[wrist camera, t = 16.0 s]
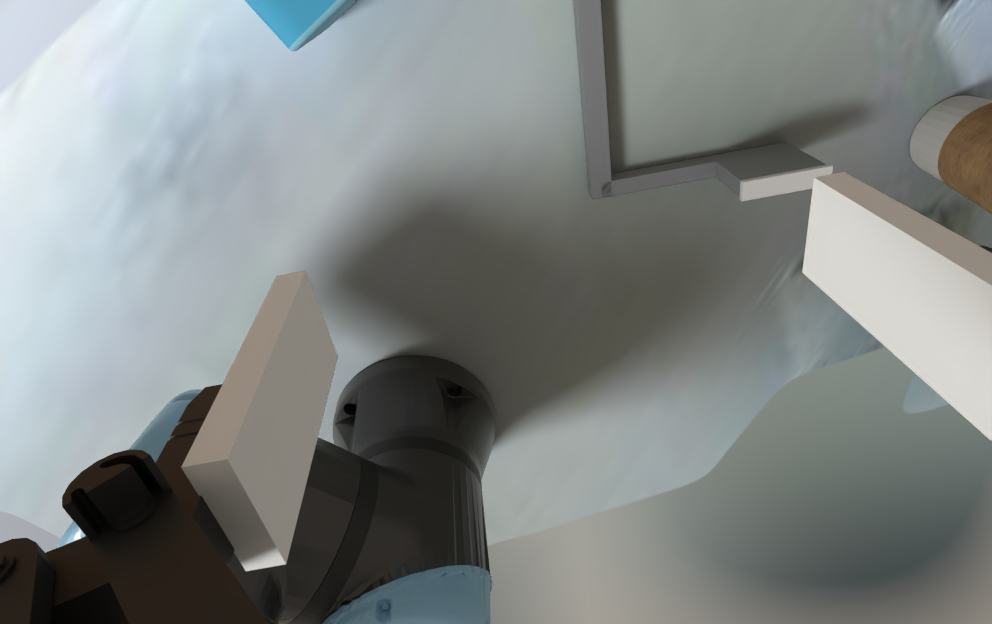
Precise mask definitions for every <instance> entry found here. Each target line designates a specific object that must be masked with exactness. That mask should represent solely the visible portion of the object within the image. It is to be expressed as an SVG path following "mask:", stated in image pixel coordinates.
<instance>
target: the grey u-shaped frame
mask: <svg viewBox="0 0 992 624" xmlns="http://www.w3.org/2000/svg"><path fill="white" fill-rule="evenodd" d="M573 5H574V17H575V29H576V41H577V53H578V65H579V77H580V89H581V101H582V113H583V125H584V137H585V149H586V161H587V173H588V185H589V193H590V195H591V197H592V198H593V199H599V198H604V197H609V196H615V195H620V194H626V193H631V192H637V191H642V190H648V189H653V188H658V187H664V186H669V185H675V184H680V183H686V182H691V181H696V180H702V179H707V178H713V177H716V178H718V179H719V180H720V181H721V182H722V183H724V184H725V185H726V186H727V187H729V188H730V189H731V190H732V191H733V192H735V193H736V194H737V195H738V196H739V197H740V200H741V201H747V200H753V199H758V198H764V197H769V196H774V195H780V194H785V193H791V192H796V191H802V190H807V189H813V182H814V177H819V176H825V175H830V174H832V170H833V165H831V164H827V165H826V164H824V163H822V162H821V161H819V160H817V159H815V158H813V157H812V156H810V155H808V154H806V153H805V152H803V151H801V150H799V149H797V148H796V147H794V146H792V145H790V144H788V143H787V142H781V143H776V144H770V145H765V146H760V147H754V148H749V149H743V150H738V151H733V152H727V153H722V154H716V155H711V156H705V157H700V158H695V159H689V160H684V161H678V162H673V163H667V164H662V165H657V166H651V167H646V168H640V169H635V170H630V171H624V172H619V173H613V174H611V163H610V146H609V130H608V114H607V98H606V81H605V65H604V49H603V33H602V17H601V0H573Z"/></svg>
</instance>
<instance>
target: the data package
mask: <svg viewBox="0 0 992 624" xmlns="http://www.w3.org/2000/svg"><path fill="white" fill-rule="evenodd" d="M245 1H246V2H247V3H248V4H249V5H250V7H251V8H252V9H253V10H254V11H255V12H256V13H257V14H258V15H259V17H260V18H261V19H262V20H263V21H264V22H265V23H266V24H267V25H268V26H269V28H270V29H271V30H272V31H273V32H274V33H275V34H276V35H277V36H278V37H279V39H280V40H281V41H282V42H283V43H284V44H285V45H286V46H287V47H288V48H289V49H290V50H291V51H297V50H298V49H300V48H301V47H302V46H304V45H305V44H307V43H308V42H309V41H311V40H312V39H314V38H315V37H317V36H318V35H319V34H321V33H322V32H324V31H325V30H326V29H327V28H329V27H330V26H331V25H332V24H333V23H334V22H335V21H336V20H337V19H338V18H339V17H340V16H342V15H343V14H344V13H345V12H346V11H347V10H348V9H349V8H350V7H351V6H352V5H353V4H354V3H355V2H356V1H357V0H245Z"/></svg>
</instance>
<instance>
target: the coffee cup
mask: <svg viewBox="0 0 992 624" xmlns="http://www.w3.org/2000/svg"><path fill="white" fill-rule="evenodd" d="M910 155H911V158H912V160H913V162H914V163H915V164H916V165H917V166H918V167H919V168H921V169H922V170H924V171H926V172H927V173H929V174H931V175H932V176H934V177H936V178H937V179H939V180H941V181H943V182H944V183H946V185H948V186H949V187H951V188H953V189H954V190H956V191H957V192H959V193H960V194H962V195H963V196H965V197H967V198H968V199H970V200H971V201H973V202H974V203H976V204H977V205H979V206H981V207H982V208H984V209H985V210H987V211H988V212H990V213H991V214H992V100H991V99H986V98H980V97H974V96H962V95H960V96H955V97H951V98H948V99H946V100H943V101H942V102H940V103H938V104H936V105H935V106H934V107H932V108H931V109H930V110H929V111H928V112H927V113H926V114H925V115H924V116H923V117H922V118H921V120H920V121H919V122H918V124H917V126H916V127H915V129H914V131H913V134H912V136H911V140H910Z"/></svg>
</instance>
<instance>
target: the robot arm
mask: <svg viewBox="0 0 992 624" xmlns="http://www.w3.org/2000/svg"><path fill="white" fill-rule="evenodd" d="M802 273H803V274H804V275H806V276H807V277H808V278H809V279H810V280H811V281H812V282H813V283H815V284H816V285H817V286H818V287H819V288H820V289H821V290H822V291H824V292H825V293H826V294H827V295H828V296H829V297H830V298H831V299H833V300H834V301H835V302H836V303H837V304H838V305H839V306H840V307H842V308H843V309H844V310H845V311H846V312H847V313H848V314H849V315H851V316H852V317H853V318H854V319H855V320H856V321H857V322H858V323H860V324H861V325H862V326H863V327H864V328H865V329H866V330H867V331H868V332H870V333H871V334H872V335H873V336H874V337H875V338H876V339H877V340H879V341H880V342H881V343H882V344H883V345H884V346H885V347H886V348H888V349H889V350H890V351H891V352H892V353H893V354H894V355H895V356H897V357H898V358H899V359H900V360H901V361H903V363H905V364H906V365H907V366H908V367H909V368H910V369H911V370H912V371H913V372H915V373H916V374H917V375H918V376H919V377H920V378H921V379H922V380H924V381H925V382H926V383H927V384H928V385H929V386H930V387H931V388H932V389H934V390H935V391H936V392H937V393H938V394H939V395H940V396H941V397H943V398H944V399H945V400H946V401H947V402H948V403H949V404H950V405H952V406H953V407H954V408H955V409H956V410H957V411H958V412H960V413H961V414H962V415H963V416H964V417H965V418H966V419H967V420H968V421H970V422H971V423H972V424H973V425H974V426H975V427H976V428H977V429H979V430H980V431H981V432H982V433H983V434H984V435H985V436H986V437H988V438H989V439H990V440H992V248H988V247H985V246H982V245H981V246H978V245H976V244H974V243H972V242H971V241H969V240H967V239H965V238H963V237H962V236H960V235H958V234H956V233H954V232H952V231H951V230H949V229H947V228H945V227H943V226H942V225H940V224H938V223H936V222H934V221H932V220H931V219H929V218H927V217H925V216H923V215H922V214H920V213H918V212H916V211H914V210H912V209H911V208H909V207H907V206H905V205H903V204H902V203H900V202H898V201H896V200H894V199H892V198H891V197H889V196H887V195H885V194H883V193H882V192H880V191H878V190H876V189H874V188H872V187H871V186H869V185H867V184H865V183H863V182H862V181H860V180H858V179H856V178H854V177H852V176H851V175H849V174H847V173H845V172H841V173H836V174H830V175H825V176H819V177H814V182H813V190H812V198H811V207H810V215H809V223H808V231H807V239H806V247H805V255H804V263H803V271H802ZM337 358H338V355H337V353H336V350H335V347H334V345H333V342H332V339H331V337H330V334H329V331H328V329H327V326H326V323H325V321H324V318H323V315H322V313H321V310H320V307H319V305H318V302H317V299H316V297H315V294H314V291H313V289H312V286H311V283H310V281H309V278H308V275H307V273H306V271H302V272H296V273H291V274H285V275H280V276H276V278H275V280H274V282H273V284H272V286H271V288H270V290H269V292H268V294H267V296H266V298H265V300H264V302H263V304H262V306H261V308H260V310H259V312H258V314H257V316H256V318H255V320H254V322H253V324H252V326H251V328H250V330H249V332H248V334H247V336H246V338H245V340H244V342H243V344H242V346H241V348H240V350H239V352H238V354H237V356H236V358H235V360H234V362H233V364H232V366H231V368H230V370H229V372H228V374H227V376H226V378H225V380H224V382H223V384H221V385H216V386H210V387H205V388H204V389H203V390H190V391H187V392H184V393H182V394H180V395H178V396H176V397H175V398H173V399H172V400H171V401H170V402H169V403H168V404H167V405H166V406H165V407H164V408H163V410H162V411H161V412H160V413H159V414H158V415H157V416H156V417H155V419H154V420H153V421H152V422H151V423H150V425H149V426H148V427H147V428H146V429H145V430H144V432H143V433H142V434H141V435H140V437H139V438H138V439H137V440H136V441H135V443H134V444H133V445H132V446H131V448H130V449H129V450H126V451H122V452H118V453H114V454H112V455H110V456H107V457H105V458H103V459H101V460H99V461H97V462H95V463H94V464H93V465H91V466H90V467H88V468H87V469H85V470H84V471H82V472H81V473H80V474H79V475H78V476H77V477H76V478H75V479H74V480H73V481H72V482H71V483H70V484H69V486H68V488H67V489H66V491H65V493H64V495H63V497H62V507H63V508H64V509H65V511H66V512H67V513H68V514H69V516H70V517H71V518H72V519H73V520H74V521H73V522H72V524H71V525H70V526H69V528H68V529H67V530H66V532H65V533H64V535H63V536H62V538H61V539H60V541H59V543H58V544H57V547H56V549H54V550H51V551H49V552H47V553H45V552H44V551H43V550H42V549H41V548H40V547H39V546H38V545H37V543H36V542H34V541H32V540H30V539H28V538H19V539H11V540H9V541H6V542H3V543H0V624H490V592H491V589H492V580H491V576H490V570H489V558H488V549H487V538H486V527H485V517H484V507H483V496H482V486H481V479H482V476H483V473H484V470H485V468H486V465H487V462H488V459H489V456H490V453H491V450H492V447H493V444H494V440H495V431H496V426H495V416H494V408H493V404H492V400H491V398H490V396H489V394H488V392H487V390H486V389H485V387H484V386H483V385H482V383H481V382H480V381H479V380H478V379H477V378H476V377H475V376H474V375H472V374H471V373H470V372H468V371H467V370H465V369H464V368H462V367H460V366H458V365H456V364H454V363H451V362H448V361H446V360H442V359H438V358H433V357H426V356H403V357H396V358H392V359H388V360H384V361H382V362H379V363H376V364H374V365H372V366H370V367H368V368H366V369H365V370H363V371H362V372H360V373H359V374H358V375H356V376H355V377H354V378H353V379H352V380H351V381H350V382H349V383H348V384H347V386H346V387H345V388H344V390H343V392H342V393H341V395H340V397H339V400H338V403H337V407H336V412H335V416H334V421H333V439H334V444H335V445H334V444H332V443H330V442H327V441H325V440H323V439H321V438H318V435H319V431H320V427H321V423H322V419H323V414H324V410H325V406H326V402H327V398H328V394H329V390H330V386H331V382H332V378H333V374H334V370H335V366H336V362H337Z"/></svg>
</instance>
